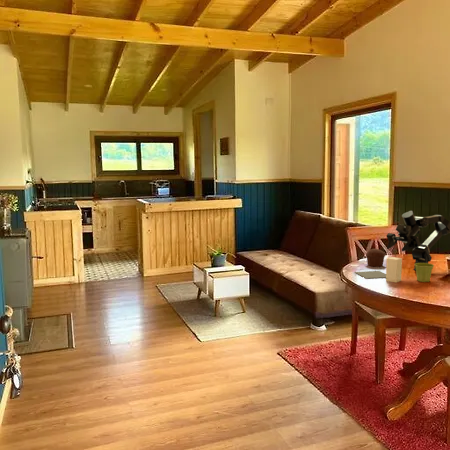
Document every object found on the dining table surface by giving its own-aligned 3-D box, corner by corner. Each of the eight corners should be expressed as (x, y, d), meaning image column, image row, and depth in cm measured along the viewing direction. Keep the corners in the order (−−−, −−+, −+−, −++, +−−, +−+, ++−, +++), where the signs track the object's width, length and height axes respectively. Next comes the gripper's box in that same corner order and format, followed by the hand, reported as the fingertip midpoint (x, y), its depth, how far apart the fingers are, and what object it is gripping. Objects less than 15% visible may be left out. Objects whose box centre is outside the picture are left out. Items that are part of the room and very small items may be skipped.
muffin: (361, 264, 278) (361, 248, 277) (373, 262, 284) (374, 247, 282) (376, 268, 268) (377, 251, 267) (389, 266, 274) (389, 249, 272)
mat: (379, 271, 259) (379, 270, 259) (392, 277, 244) (392, 276, 244) (354, 272, 257) (354, 271, 257) (365, 278, 242) (365, 278, 242)
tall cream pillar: (391, 278, 241) (391, 256, 240) (401, 280, 237) (401, 258, 236) (385, 280, 238) (386, 258, 236) (396, 282, 233) (396, 259, 232)
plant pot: (431, 283, 230) (432, 267, 229) (412, 281, 235) (412, 265, 234) (434, 279, 238) (435, 263, 237) (415, 277, 243) (415, 262, 242)
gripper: (391, 219, 255) (375, 235, 249) (421, 222, 239) (405, 239, 233) (397, 234, 259) (382, 251, 253) (427, 238, 243) (411, 256, 237)
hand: (394, 249), depth 244 cm, fingers open, 9 cm apart
